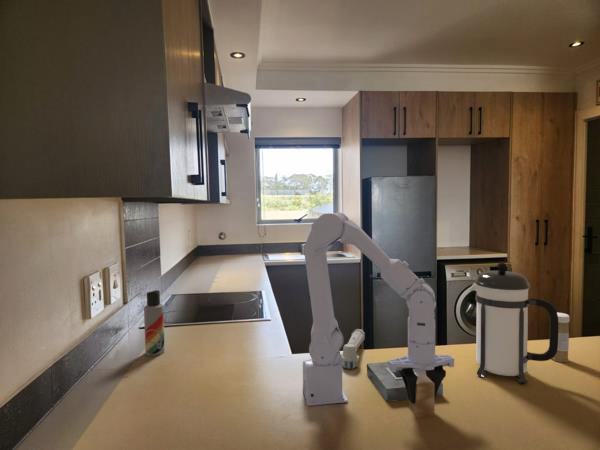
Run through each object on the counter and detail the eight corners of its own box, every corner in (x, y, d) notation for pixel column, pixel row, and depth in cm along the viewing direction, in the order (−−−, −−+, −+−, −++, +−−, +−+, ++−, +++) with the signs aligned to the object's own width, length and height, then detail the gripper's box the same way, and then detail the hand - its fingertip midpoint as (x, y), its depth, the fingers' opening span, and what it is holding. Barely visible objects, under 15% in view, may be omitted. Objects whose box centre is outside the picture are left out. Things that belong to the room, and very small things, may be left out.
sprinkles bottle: (546, 355, 109) (547, 311, 108) (563, 357, 108) (564, 312, 107) (554, 362, 104) (554, 316, 104) (572, 363, 103) (572, 316, 103)
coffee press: (501, 391, 88) (502, 269, 87) (458, 364, 104) (459, 260, 103) (559, 382, 92) (561, 265, 91) (509, 357, 108) (510, 257, 107)
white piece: (367, 328, 125) (357, 345, 101) (366, 348, 124) (357, 369, 100) (351, 327, 126) (338, 343, 102) (351, 347, 126) (338, 367, 102)
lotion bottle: (153, 357, 112) (151, 293, 111) (141, 354, 115) (139, 291, 114) (168, 351, 117) (166, 289, 116) (156, 347, 120) (154, 287, 119)
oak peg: (417, 416, 78) (417, 384, 78) (408, 406, 82) (408, 376, 82) (434, 414, 79) (434, 383, 79) (425, 405, 83) (425, 375, 83)
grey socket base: (386, 401, 85) (386, 388, 85) (366, 374, 99) (366, 362, 98) (442, 395, 87) (442, 382, 87) (415, 370, 101) (415, 358, 100)
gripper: (397, 348, 75) (397, 413, 76) (462, 343, 77) (462, 406, 78) (384, 337, 82) (384, 396, 82) (444, 332, 84) (444, 390, 85)
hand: (421, 400), depth 81 cm, fingers closed on oak peg, 4 cm apart
